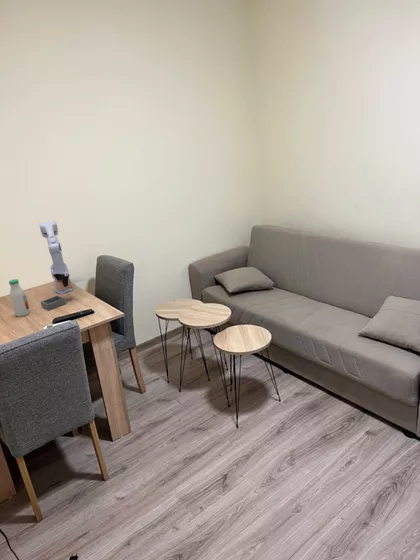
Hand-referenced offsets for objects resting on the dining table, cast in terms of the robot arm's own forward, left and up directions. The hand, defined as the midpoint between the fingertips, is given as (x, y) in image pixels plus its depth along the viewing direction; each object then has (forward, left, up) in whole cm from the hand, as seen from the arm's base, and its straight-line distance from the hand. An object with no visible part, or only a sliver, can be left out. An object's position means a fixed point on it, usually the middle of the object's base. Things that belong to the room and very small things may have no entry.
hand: (63, 285), depth 234 cm
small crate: (0, 0, -2) cm, 2 cm away
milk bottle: (-4, -25, -9) cm, 27 cm away
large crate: (+1, -9, -9) cm, 13 cm away
